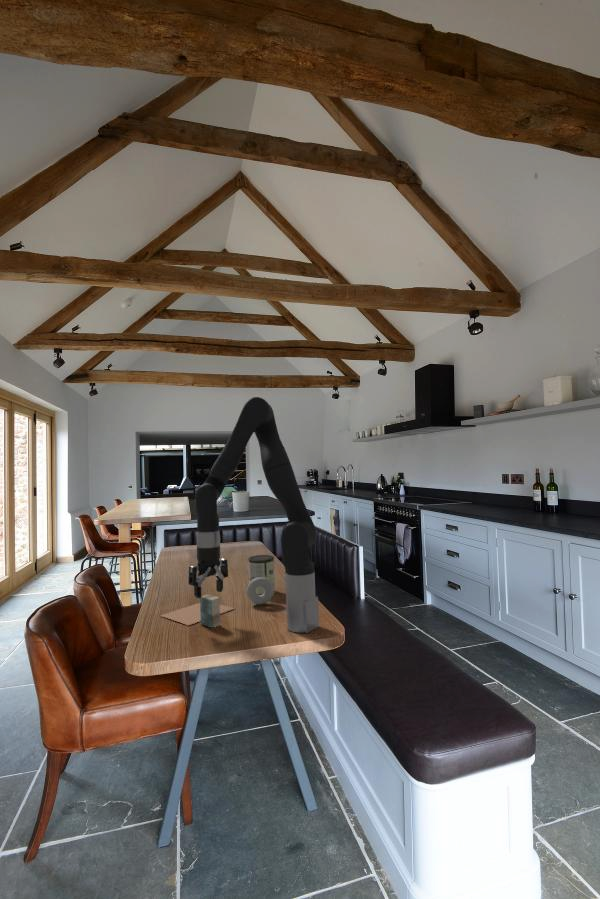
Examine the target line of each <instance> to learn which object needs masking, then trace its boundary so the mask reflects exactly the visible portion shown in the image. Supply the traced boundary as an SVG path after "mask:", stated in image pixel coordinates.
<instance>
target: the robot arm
mask: <svg viewBox="0 0 600 899" xmlns="http://www.w3.org/2000/svg"><path fill="white" fill-rule="evenodd" d="M253 434H254V435H255V436H256V440H257V442H258V446H259V451H260V460H261V466H262V470H263V474H264V477H265V479H266V482H267V483H266V484H267V486H268V487H269V490H270V492H271V493H272V494H273V495H274V496H275V498H276V499H277V501H278V502H279V503H280V504H281V506H282V508H283V510H284V511H285V514H286V518H287V521H288V523H287V524H285V525H284V526H283V528H282V530H281V534H280V544H281V558H282V559H281V560H282V564H283V566H284V571H285V572H284V574H285V602H286V603H285V608H286V610H285V611H286V627H287V628H286V629H287V630H288V631H290V632H293V633H304V632H305V634H308V633H310V632H312V631H314V630H316V629H318V628H320V620H319V619H320V616H319V597H318V595H317V596H316V580H315V578H316V577H315V576H316V575H315V562H313V561H312V560H311V558H310V547H312V546H313V545H314V544H315V543H316V541H317V537H318V536H317V529H316V526H315V523H314V522H313V520H312V518H311V515H310V512H309V510H308V509H307V507H306V504H305V501H304V499H303V496H302V493H301V490H300V487H299V484H298V481H297V479H296V475H295V471H294V469H293V465H292V464H291V461H290V459H289V456H288V453H287V450H286V448H285V446H284V444H283V442H282V440H281V438H280V434H279V430H278V427H277V423H276V418H275V413H274V410H273V407H272V406H271V404H269V402H268V401H266V399H264V398H262V397H259V396H254V397H251V398H249V399H247V401H246V402H244V405H243V407H242V409H241V411H240V414H239V416H238V418H237V421H236V423H235V426H234V428H233V429H232V432H231V434H230V436H229V438H228V440H227V442H226V443H225V445H224V447H223V449H222V450H221V452H220V453H219V455H218V457H217V458H216V460H215V462H214V463H213V465H212V467H210V468H211V469H210V471H209V472H210V473H209V475H208V476H207V478H206V479H205V481H204V482H203V484H202V485H199V486H198V487H197V489H196V491H195V495H194V496H195V498H194V501H195V509H196V514H197V515H196V517H197V522H196V525H197V527H196V528H197V529H196V532H197V533H196V561H197V565H189V566H188V585H190V586H193V588H194V589H193V590H194V592H193V594H194V597H195V598H196V599H200V598H201V596H202V584H203V582H204V581H205V580H206V579H207V578H209V577H210V576H211V577H213V576H214V577H215V578H216V583H215V584H216V589H215V590H216V592H217V593H222V592H223V590H224V580H225V578H228V577H229V567H228V566H229V565H228V560H227V559H225V558H221V534H220V516H219V514H218V501H219V498H220V497H221V495H222V493H223V491H224V490H225V488H226V486H227V483H229V480H230V479H231V478H232V476H233V474H234V473H235V471H236V470H237V468H238V466H239V465H240V463H241V460H242V458H243V455H244V453H245V450H246V447H247V445H248V442H249V441H250V439H251V437H252V436H253Z"/></svg>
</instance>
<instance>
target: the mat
mask: <svg viewBox="0 0 600 899" xmlns="http://www.w3.org/2000/svg"><path fill="white" fill-rule="evenodd" d="M231 610H232V611H235V610H236V608H235V607H231V606H228V605H225V604H224V605H223V604H222V603H221V604H220V614H221V615H224V614H227V613H228V611H229V612H231ZM160 616H161V617H160V618H162V617H165V618H168V619H171V620H174V621H177V622H180V623H182V624H181V625H183V624H185V625H184V626H186V625H187V626H186V627H190V626H189V625H191V626H193V625H192V624H194V625H195V623H196V624H198V623H197V622H199V623H201V622H200V621H201V616H200V602H197V603H195V604H192V605H188V606H186V607H182V608H179V609H177V610H173V611H170V612H167V613H164V614H161V615H160ZM165 618H164V619H165ZM168 619H167V620H168ZM171 620H170V621H171ZM174 621H173V622H174ZM177 622H176V623H177ZM180 623H179V624H180Z"/></svg>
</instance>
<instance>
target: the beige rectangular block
mask: <svg viewBox="0 0 600 899" xmlns="http://www.w3.org/2000/svg"><path fill="white" fill-rule="evenodd" d="M220 601H221V600H220V596H219V597H218V596H215V595H212V594H205V595H201V598H199V603H200V616H201V622H200V625H201V624H202V625H201V626H204V625H205V627H207V626H208V628H210V627H211V628H210V629H213V628H212V627H215V628H217V627H216V626H218V627H220V626H221V615H220V603H221V602H220ZM219 625H220V626H219Z"/></svg>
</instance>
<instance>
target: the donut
mask: <svg viewBox="0 0 600 899" xmlns="http://www.w3.org/2000/svg"><path fill="white" fill-rule="evenodd" d="M258 587H263V588H264V589H265V592H264V594H262V595H257V594H256V589H257V588H258ZM273 592H274V588H273V585H272V583H271V582H270V581H269V580H268V579H266V578H264V577H258V578H255V579H253V580H252V581H251V582H250V583H248V585H247V587H246V596H247V598H248V600H249V601H250V602H251V603H252V604H254V605H265V604H267V603H269V601H271V600H272V598H273V596H274V594H273Z"/></svg>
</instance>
